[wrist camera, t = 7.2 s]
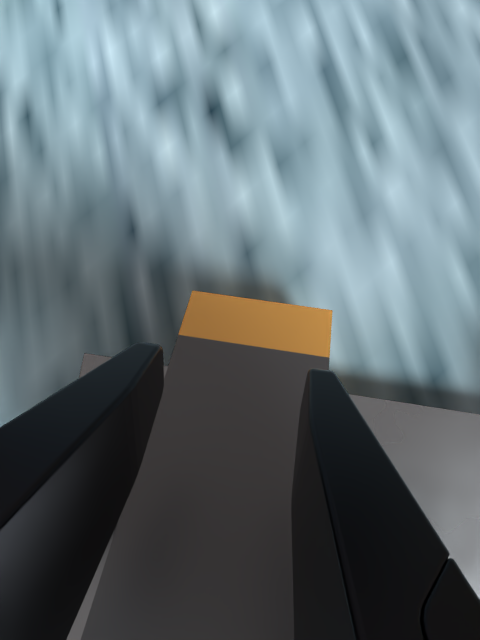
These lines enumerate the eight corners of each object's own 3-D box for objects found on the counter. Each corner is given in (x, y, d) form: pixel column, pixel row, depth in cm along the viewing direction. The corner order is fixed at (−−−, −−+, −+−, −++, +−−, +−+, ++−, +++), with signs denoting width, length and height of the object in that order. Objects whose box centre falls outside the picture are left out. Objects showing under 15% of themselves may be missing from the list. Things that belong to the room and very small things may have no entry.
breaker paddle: (302, 796, 7) (332, 310, 13) (49, 735, 7) (192, 290, 13) (291, 777, 8) (323, 343, 14) (76, 726, 8) (195, 324, 14)
